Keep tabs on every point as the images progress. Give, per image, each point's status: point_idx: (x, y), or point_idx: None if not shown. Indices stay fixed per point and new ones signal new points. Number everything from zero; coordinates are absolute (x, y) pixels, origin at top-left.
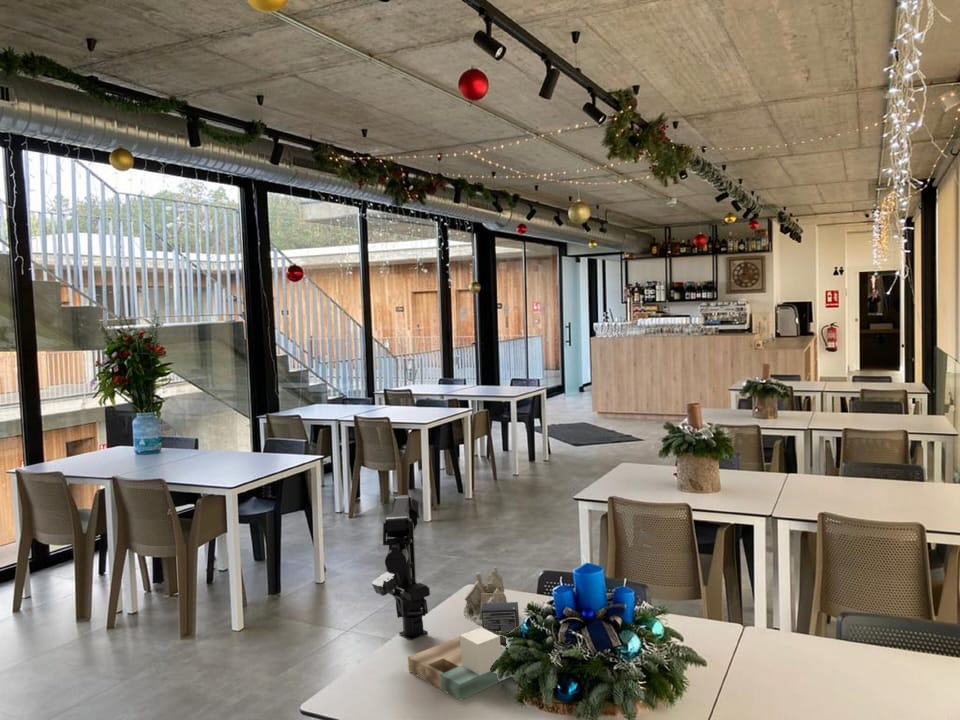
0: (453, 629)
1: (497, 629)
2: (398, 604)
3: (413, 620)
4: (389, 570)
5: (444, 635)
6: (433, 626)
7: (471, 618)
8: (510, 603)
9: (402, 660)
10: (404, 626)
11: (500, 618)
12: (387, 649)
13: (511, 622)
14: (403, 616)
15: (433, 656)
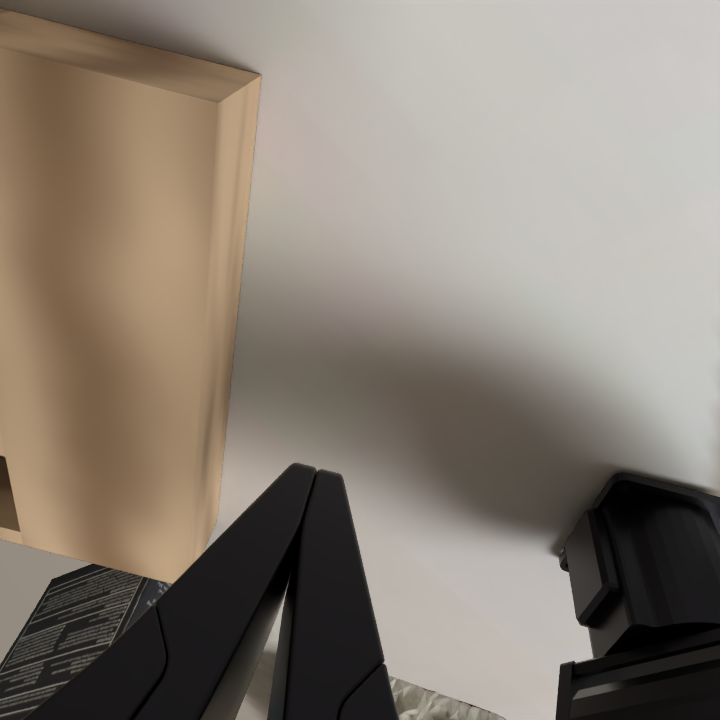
0: (450, 620)
1: (73, 629)
2: (334, 667)
3: (629, 606)
4: None
5: (446, 565)
6: None
7: (433, 704)
8: None
9: (459, 209)
10: (713, 555)
11: (24, 695)
12: (717, 305)
13: (4, 680)
14: (297, 466)
15: (47, 228)
